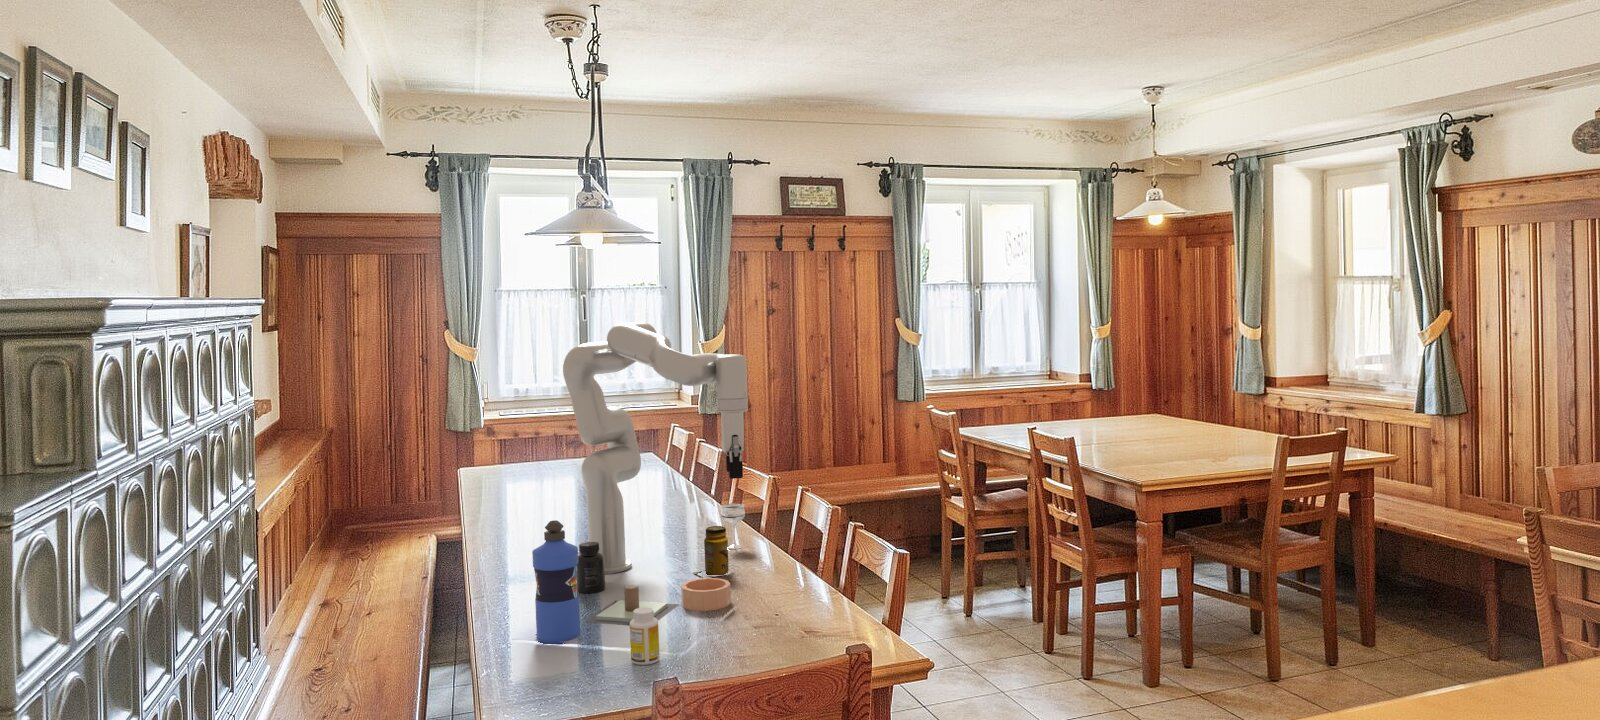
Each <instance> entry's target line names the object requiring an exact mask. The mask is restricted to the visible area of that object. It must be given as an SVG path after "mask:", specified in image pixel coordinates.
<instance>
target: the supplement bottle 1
mask: <svg viewBox="0 0 1600 720" xmlns="http://www.w3.org/2000/svg"><path fill="white" fill-rule="evenodd" d="M599 550H600V549H599V543H598V542H588V541H585V542H582V543H579V545H578V551H579V553H580V555H578V565H577V579H576V583H577V588H578V594H580V595H581V594H583V595H592V594H599V593H602V592H605V590H606V576H605V575H606V574H605V570H604V557H603V555H602V554H601V553H599Z"/></svg>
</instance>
